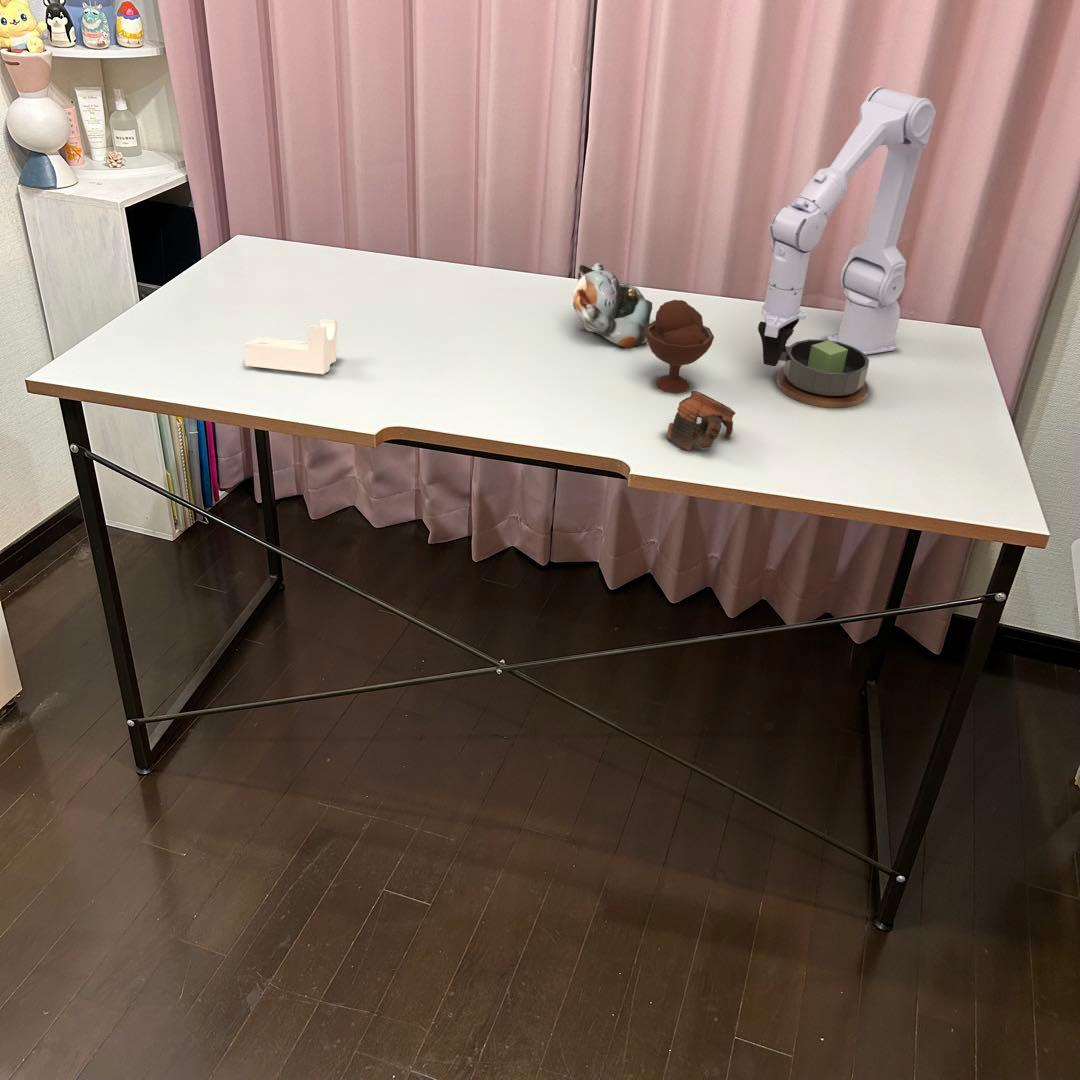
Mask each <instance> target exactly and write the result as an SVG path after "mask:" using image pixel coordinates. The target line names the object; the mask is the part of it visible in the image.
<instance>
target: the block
mask: <svg viewBox="0 0 1080 1080" xmlns="http://www.w3.org/2000/svg"><path fill="white" fill-rule="evenodd" d="M827 340H828V339H827ZM847 352H848V349H846V348H844V347H842V346H840V345H838V344H836V343H834V342H832V341H830V340H828V341H824V342H821V343H818V344H814V345H812V346H811V351H810V356H809V361H808V366H807V367H810V368H813V369H816V370H820V371H825V372H831V373H843V370H844V365H845V361H846V356H847Z"/></svg>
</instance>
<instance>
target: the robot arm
mask: <svg viewBox="0 0 1080 1080" xmlns="http://www.w3.org/2000/svg"><path fill="white" fill-rule="evenodd" d="M858 112H859V113H858V124H857V125H856V127H855V128H854V130H853V131H852V132H851V134H850V136H849V137H848V139H847V140H846V142H845V143H844V145H843V147H841V149H840V151H839V152H838V154H837V155H836V157H835V159H834V160H833V162H831V164H830V166H829V167H824V168H820V169H818V170H817V171H816V172H815V174H814V175H813V176H812V177H811V179H810V180H809V181H808V183H807V184H806V185H805V186H804V188H803V189H802V191H800V193H799V194H798V195H797V197H796V198H795V199H794V201H792V203H791V204H790V205H786V207H781V208H780V209H778V210H777V211H776V212H775V214H774V216H773V218H772V219H771V223H770V224H769V225H768V235H769V238H770V241H771V242H770V251H771V252H772V257H771V263H770V269H769V274H768V279H767V286H766V292H765V298H764V303H763V305H762V306H761V307H762V308H761V314H762V316H763V319H764V321H759V323H758V326H757V330H758V331H757V332H758V333H759V336H760V341H761V344H762V345H761V346H762V361H763V365H765V366H770V367H777V365H778V363H779V361H780V360H779V359H780V356H781V353H782V350H783V347H784V346H787V343H788V340H789V339H790V338H791V336H792V335H793V333H794V332H795V330H794V329H795V327H796V326H797V324H798V323H799V322H800V320H805V319H806V317H807V311H805V310H800V309H801V303H802V300H803V299H802V298H803V294H804V289H805V283H806V277H807V272H808V267H809V261H810V257H811V252H812V250H813V249H814V248H815V247H816V246H817V245H818V244H819V243H820V242H821V239H822V237H823V233H824V230H825V228H826V226H827V224H828V218H829V217H830V215H831V214H832V213H833V211H834V210H835V209H836V207H838V205H839V204H840V203H841V201H842V200H843V199H844V198H845V196H846V195H847V193H848V191H849V188H848V187H849V186H848V181H849V180H850V178H851V177H852V176H854V174H855V173H856V172H857V171H858V170H859V169H860V167H861V166H863V164H865V162H866V161H867V160H868V159H869V158H870V157H871V156H872V155H873V154H874V152H875V151H877V150H878V148H879V147H880V146H886V148H887V153H886V158H885V161H884V165H883V169H882V174H881V176H880V181H879V184H878V189H877V193H876V196H875V200H874V204H873V208H872V211H871V215H870V220H869V223H868V227H867V231H866V235H865V239H864V242H862V243H860V244H857V245H856V246H854V247H852V248H851V249H850V250H849V253H848V257H847V259H846V261H845V263H844V265H842V268H841V271H840V275H839V276H840V277H839V278H840V280H839V282H840V285H841V287H842V288H843V290H844V291H843V295H844V296H846V299H845V302H844V303H845V304H844V308H843V312H842V317H841V322H840V327H839V330H838V331H839V332H838V334H834V335H828V336H827V338H826V340H830V341H836V342H841V343H844V344H846V345H849V346H852V347H855V348H856V349H858V350H860V351H861V352H863V353H864V354H865V355H866V356H867V355H873V354H879V353H887V352H892V351H895V350H896V346H894V341H895V337H896V334H897V330H898V325H899V322H900V318H901V307H900V304H899V302H898V298H899V297H901V294H902V293H903V290H904V287H905V283H906V278H905V273H906V268H907V264H908V263H907V261H906V259H905V258H904V256H903V255H902V253H901V252H900V250H899V248H898V247H897V244H898V240H899V237H900V233H901V229H902V226H903V222H904V219H905V214H906V210H907V207H908V203H909V200H910V195H911V192H912V188H913V186H914V181H915V177H916V174H917V170H918V166H919V162H920V160H921V155H922V152H923V150H925V149H927V147H928V143H929V140H930V137H931V133H932V129H933V126H934V123H935V119H936V114H937V110H936V109H935V107H934V104H933V102H932V101H931V100H930V98H929V99H928V98H926V97H919V96H915V95H911V94H907V93H903V92H900V91H896V90H893V89H889V88H887V87H884V86H882V85H881V86H877V87H875V88H873V89H872V90H871V91H870V92H869V93H868V94H867V96H866V98H865V99H864V101H863V103H862V104H861V105H860V107H859V111H858Z"/></svg>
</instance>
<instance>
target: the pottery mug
mask: <svg viewBox="0 0 1080 1080" xmlns="http://www.w3.org/2000/svg"><path fill="white" fill-rule="evenodd" d="M734 415H736V411H734V409H732V408H730V406H727V405H725V404H724V403H722V402H720V401H717V400H715V398H712V397H710V396H708V395H706V394H704V393H702V392H700V391H697V390H691V391H690V395H689V396H688V397H685V398H684V399H683V400H681V401H680V402H679V403H678V406H677V412H676V414H675V415H674V418H673V422H669V424H668V427H667V432H666V438H667V439H668V440H670V441H671V442H672V443H674V444H675V445H676V446H679V447H681V448H682V449H683V450H686V451H689V452H690V451H691V450H692V448H693V445H694V444H696V445H697V447H698V448H700V449H709V448H711V446H712V445H713V444H714V442H715V441H716V440H717V438H718V436H719V435H720V433H721V430H722V424H723V426H724V427H725V432H724V437H725V438H731V435H732V434H733V430H734V421H733V418H734ZM698 419H700V422H697V421H698Z"/></svg>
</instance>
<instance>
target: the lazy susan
mask: <svg viewBox="0 0 1080 1080" xmlns="http://www.w3.org/2000/svg"><path fill="white" fill-rule="evenodd" d="M776 386H777V387H778V389H779V390H780V391H781V392H782V393H783V394H785V395H786V396H787V397H790V399H793V400H795V401H798V402H800V403H802V404H803V403H804V404H806V405H810V406H814V407H819V408H828V409H829V408H831V409H841V408H849V407H853V406H856V405H859V404H861V403H862V402H864V401H865V400H866V399H867V396H868V393H869V385H868V383H867V381H866V380H865V383H864V385H863V386H862V387H861V389H860V390H858V391H857V392H855V393H852V394H849V395H842V396H828V395H820V394H815V393H811V392H808V391H805V390H802V389H800V388H798V387H796V386H794V385H793V384H792V383H790V382H789V381H788V380H787V378H786V377H785V373H784V366H783V367H781V368H780V370H779V371H778V372H777V375H776Z"/></svg>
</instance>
